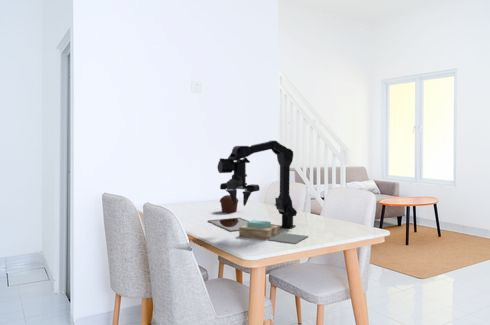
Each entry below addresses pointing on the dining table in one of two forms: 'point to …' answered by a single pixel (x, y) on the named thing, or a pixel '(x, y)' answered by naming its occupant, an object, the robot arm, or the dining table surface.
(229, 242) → the dining table surface
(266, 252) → the dining table surface
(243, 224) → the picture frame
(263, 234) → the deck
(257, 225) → the teal rectangular block
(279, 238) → the mat
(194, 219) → the dining table surface
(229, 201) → the muffin
